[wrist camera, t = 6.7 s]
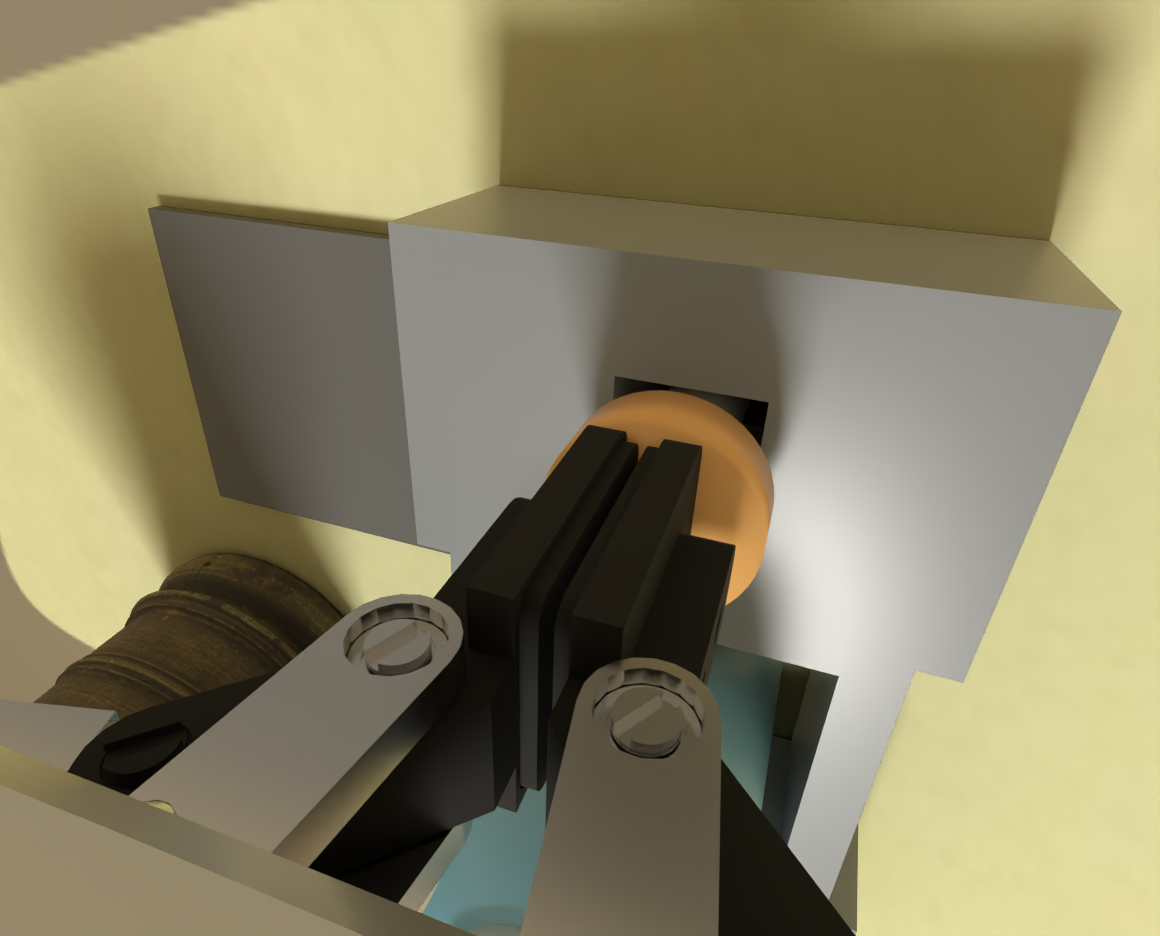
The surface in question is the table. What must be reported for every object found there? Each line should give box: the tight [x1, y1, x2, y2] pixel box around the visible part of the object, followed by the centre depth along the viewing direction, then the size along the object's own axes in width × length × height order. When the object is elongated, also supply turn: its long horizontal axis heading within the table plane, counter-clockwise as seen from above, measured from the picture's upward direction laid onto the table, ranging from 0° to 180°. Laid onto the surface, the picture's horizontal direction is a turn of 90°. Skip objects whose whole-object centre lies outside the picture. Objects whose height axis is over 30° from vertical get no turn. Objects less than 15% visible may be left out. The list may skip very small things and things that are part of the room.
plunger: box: [545, 386, 774, 605], centre depth 13 cm, size 3×3×6 cm
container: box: [33, 554, 342, 720], centre depth 20 cm, size 9×9×18 cm
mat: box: [148, 206, 450, 554], centre depth 20 cm, size 9×9×1 cm
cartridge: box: [423, 644, 783, 936], centre depth 16 cm, size 5×5×11 cm
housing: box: [388, 185, 1122, 934], centre depth 18 cm, size 11×22×4 cm, turn 178°
